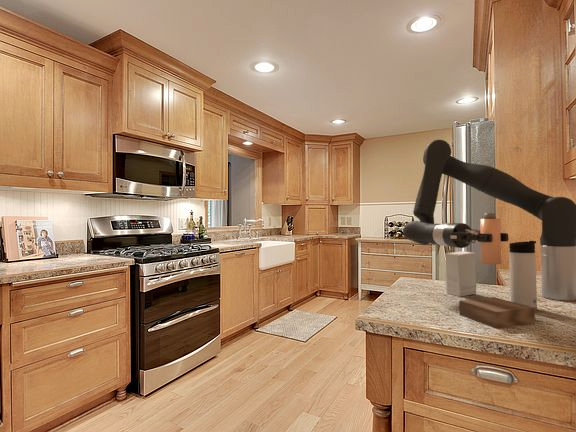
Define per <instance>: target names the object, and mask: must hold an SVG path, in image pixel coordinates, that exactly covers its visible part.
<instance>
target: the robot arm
mask: <svg viewBox="0 0 576 432" xmlns="http://www.w3.org/2000/svg"><path fill="white" fill-rule="evenodd" d="M422 162H423V164H424V170H423V175H422V178H421V179H422V180H421V181H420V185H419V189H418V191H417V195H416V199H415V203H414V206H413V211H412V213H413V215H414V216H415V217H416V218H417V219H418V220H412V221H411V220H410V221H409V222H407V223H406V224H405V225H404V227H403V228H402V229H403V235H404V237H405V238H406V239H407V240H409V241H412V242H414V243H417V244H419V245H422V246H427V245H437V246H443V247H449V248H460V249H463V248H464V249H465V248H467V247H468V246H470V245H471V244H477V243H481V242H492V234H483V233H480V229H477V228H471V226H470V225H468V224H466V223H463V222H461V223H460V222H445V223H443V222H442V223H435V216H434V214H435V210H436V206H437V201H438V197H439V190H440V184H441V180H442V177H443V175H445V176H447V177H450V178H452V179H455V180H457V181H459V182H461V183H464V184H465V185H467V186H469V187H471V188H473V189H475V190H478V191H479V192H481V193H483V194H486V195H488V196H490V197H492V198H495V199H497V200H499V201H502V202H504V203H508V204H510V205H513V206H516V207H517V208H519V209H522V210H524V211H525V212H527V213H528V214H531V215H532V216H534V217H535V218H537V219H538V220H540V221H541V235H540V237H539V244H540V245H539V249H540V252H539V253H540V277H541V278H540V279H541V280H540V281H541V297H543V298H546V299H551V300H557V301H567V302H569V301H570V302H571V301H572V302H573V301H576V203H575V202H574V201H573V200H572V199H570V198H568V197H565V196H555V197H554V196H550V195H548V194H544V193H542V192H540V191H538V190H534V189H533V188H531V187H528V186H527V185H526V184H524V183H523V182H522V181H520V180H518V179H517V178H516V177H514V176H513V175H510V174H509V173H507V172H504V171H502V170H501V169H497V168H495V167H493V166H490V165H487V164H486V165H484V164H480V163H479V164H477V163H469V162H465V161H462V160H460V159H458V158H455V157H454V156H452V148H451V145H450V144H449V143H448V142H447V141H446V140H444V139H434V140H433V141H430V143H428V144H427V145H426V147H425V149H424V152H423V157H422ZM500 234H501V242H508V241H509V234H508V233H506V232H500Z"/></svg>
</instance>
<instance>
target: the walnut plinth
mask: <svg viewBox="0 0 576 432" xmlns="http://www.w3.org/2000/svg"><path fill="white" fill-rule="evenodd" d="M458 303H459V316H462V317H464V318H468V319H470V320H473V321H475V322H478V323H481V324H484V325H486V326H489V327H492V328H495V329H504V328H511V327H519V325H520V326H526V325H525V324H527V325H533V323H535V324H536V316H535V315H536V314H535V312H536V311H535V310H534V308H533V307H530V306H526V305H522V304H518V303H514V302H511V300H507V299H503V298H499V297H495V296H492V297H490V296H489V297H482V298H472V299H471V298H470V299H462V300H459V301H458Z"/></svg>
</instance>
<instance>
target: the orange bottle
mask: <svg viewBox="0 0 576 432" xmlns="http://www.w3.org/2000/svg"><path fill="white" fill-rule="evenodd" d="M496 216H497V215H496V212H495V213H494V212H493V213H492V212H490V213H489V212H487V213H483V217H484V218H480V219H479V223H480V224H479V225H480V226H479V227H480V228H479V230H480V233H483V234H492V242H480V263H481V264H484V265H502V246H501V245H502V244H501V243H502V241H501V234H500V233H501V218H497V217H496Z"/></svg>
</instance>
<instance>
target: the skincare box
mask: <svg viewBox="0 0 576 432" xmlns="http://www.w3.org/2000/svg"><path fill="white" fill-rule="evenodd" d="M476 266H477V265H476V252H472V251H463V250H461V251H454V252H445V271H446V272H445V273H446V275H445V277H446V279H445V281H446V283H445V284H446V293H447V294H448V295H451V296H452V295H453V296H454V297H455V296H456V297H465V296H466V297H467V296H470V295H471V296H472V295H476V294H477V272H476V271H477V270H476V268H477V267H476Z"/></svg>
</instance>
